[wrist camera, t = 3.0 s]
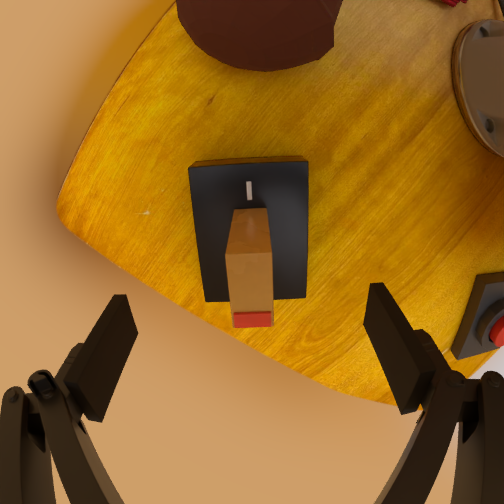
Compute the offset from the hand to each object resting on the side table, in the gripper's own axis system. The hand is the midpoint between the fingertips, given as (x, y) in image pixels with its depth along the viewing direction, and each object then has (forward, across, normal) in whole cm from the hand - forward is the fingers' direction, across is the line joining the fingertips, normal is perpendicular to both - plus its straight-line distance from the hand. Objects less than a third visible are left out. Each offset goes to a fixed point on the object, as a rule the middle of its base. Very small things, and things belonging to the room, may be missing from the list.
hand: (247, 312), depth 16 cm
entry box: (+12, +31, -13) cm, 36 cm away
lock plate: (+13, 0, 0) cm, 13 cm away
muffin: (+8, +4, +22) cm, 24 cm away
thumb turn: (+10, 0, 0) cm, 10 cm away
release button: (+9, +31, -13) cm, 35 cm away
